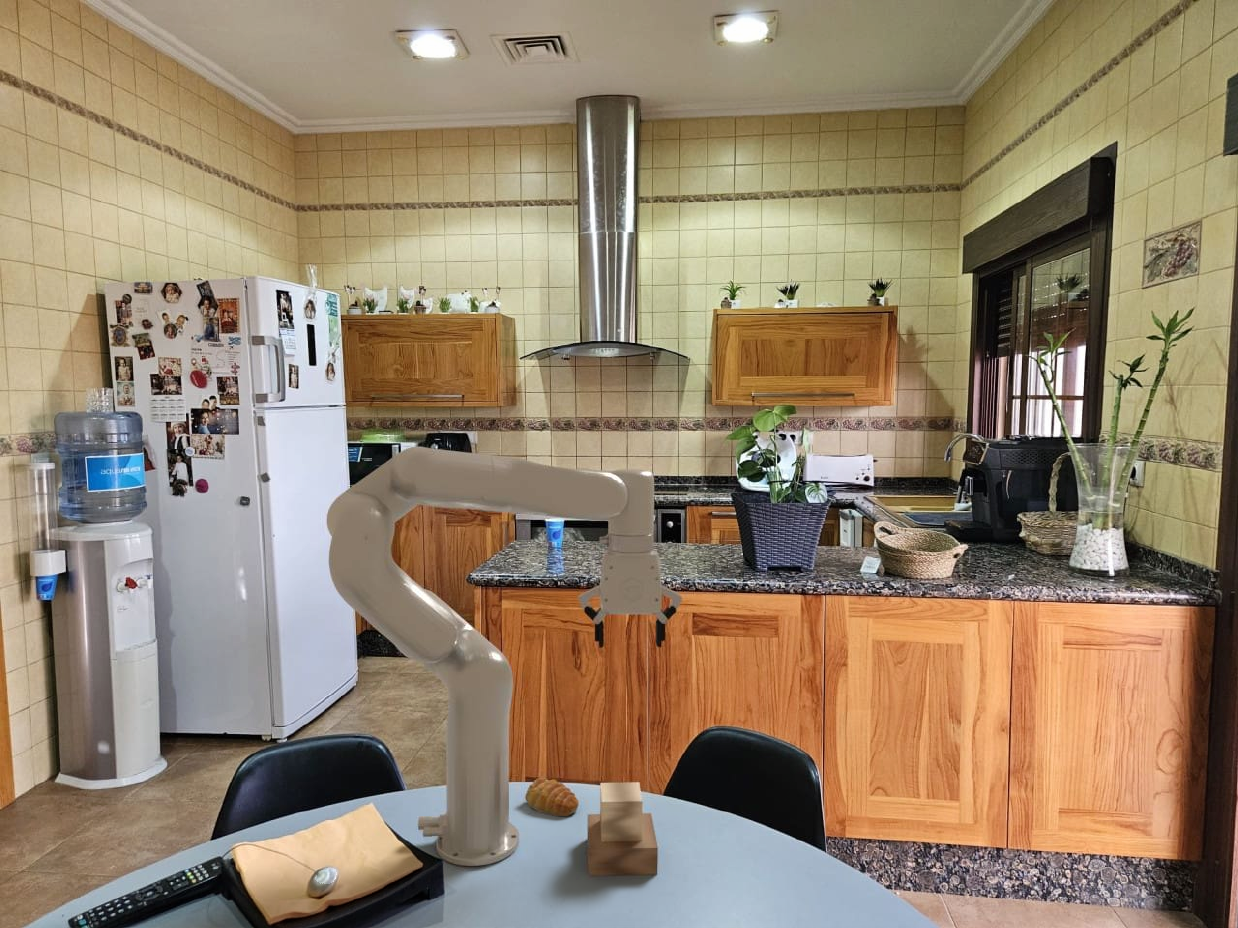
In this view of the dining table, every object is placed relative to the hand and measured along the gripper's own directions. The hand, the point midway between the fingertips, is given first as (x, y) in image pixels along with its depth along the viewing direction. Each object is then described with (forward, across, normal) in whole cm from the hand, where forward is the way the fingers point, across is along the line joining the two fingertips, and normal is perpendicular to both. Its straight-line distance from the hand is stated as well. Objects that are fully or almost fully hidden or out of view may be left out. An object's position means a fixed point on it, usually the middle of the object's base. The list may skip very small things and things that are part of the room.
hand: (629, 645), depth 132 cm
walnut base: (+28, -2, -14) cm, 32 cm away
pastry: (+29, -13, +2) cm, 32 cm away
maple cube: (+24, -2, -14) cm, 28 cm away
